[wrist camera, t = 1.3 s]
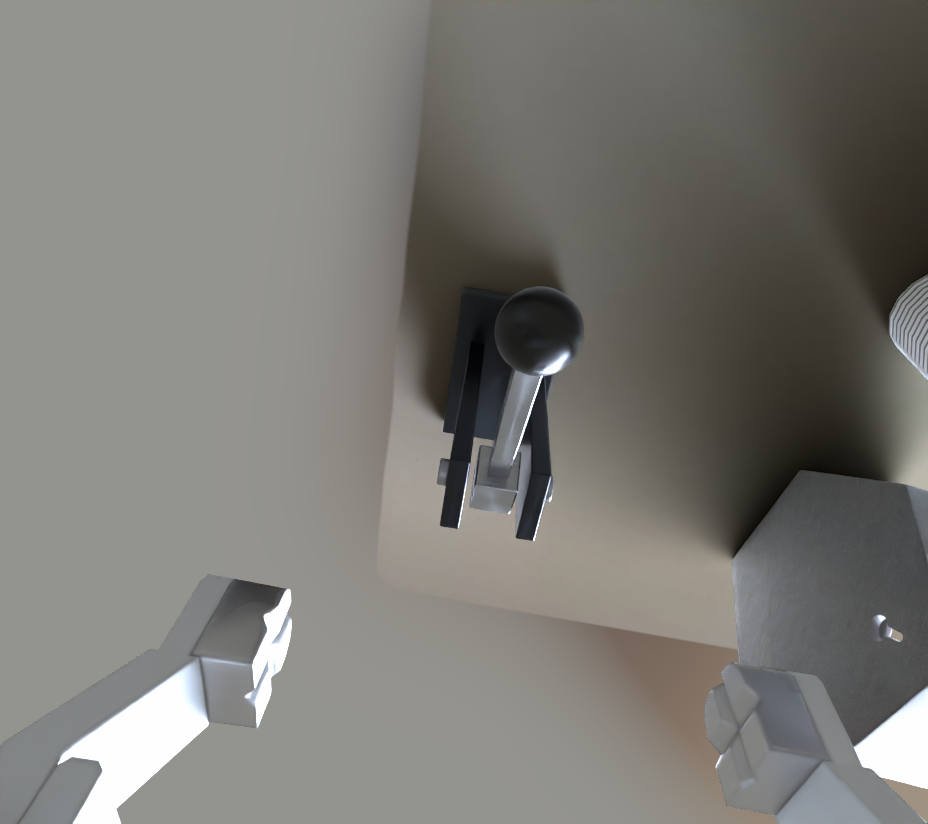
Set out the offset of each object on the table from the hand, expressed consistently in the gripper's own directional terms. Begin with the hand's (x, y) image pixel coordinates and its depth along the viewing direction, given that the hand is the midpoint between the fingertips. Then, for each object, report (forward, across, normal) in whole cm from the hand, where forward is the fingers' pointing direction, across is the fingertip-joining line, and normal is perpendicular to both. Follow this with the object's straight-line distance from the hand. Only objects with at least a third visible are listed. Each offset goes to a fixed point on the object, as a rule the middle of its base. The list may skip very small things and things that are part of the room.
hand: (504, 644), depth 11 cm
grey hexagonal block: (+31, -28, +19) cm, 46 cm away
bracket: (+31, -1, +10) cm, 32 cm away
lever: (+17, -1, +4) cm, 17 cm away
